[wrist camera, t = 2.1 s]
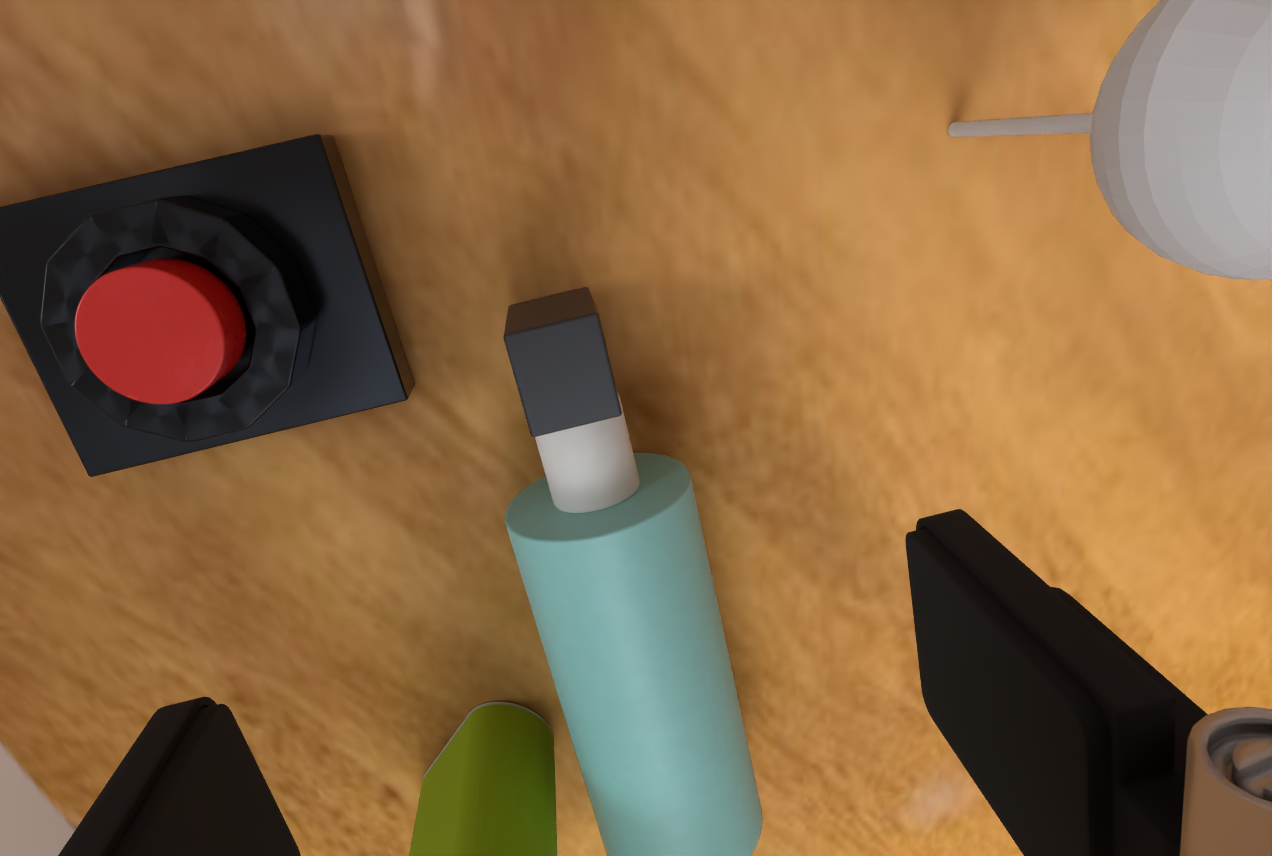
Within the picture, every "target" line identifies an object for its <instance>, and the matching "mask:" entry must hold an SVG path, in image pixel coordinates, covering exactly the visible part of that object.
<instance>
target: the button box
mask: <svg viewBox="0 0 1272 856" xmlns="http://www.w3.org/2000/svg"><path fill="white" fill-rule="evenodd" d="M163 258H170V259H179V260H184V261H188V262H191V263H194V264H197V265H199V266H201V267H203V268H205V269H207V270H208V271H210V272H212V273H213V274H215V275H216V276H217V277H218V278H220V279H221V280H222V281H223V282H224V283H225V284H226V285H227V286H228V287H229V289H230V290H231V291H232V292H233V294H234V295H235V297H236V298H237V300H238V302H239V304H240V306H241V308H242V311H243V314H244V317H245V322H246V333H247V335H246V343H245V347H244V351H243V353H242V355H241V358H240V359H239V361H238V362H237V364H236V365H235V366H234V368H233V369H232V370H231V371H230V372H229V373H227V374H226V375H225V376H224V377H222V378H221V379H220V380H218V381H217V382H216V383H214V384H213V385H211V386H210V387H209V388H207V389H206V390H205V391H203V392H202V393H200V394H199V395H197V396H195V397H193V398H191V399H189V400H186V401H182V402H179V403H173V404H150V403H145V402H140V401H137V400H134V399H131V398H128V397H126V396H124V395H122V394H120V393H118V392H116V391H114V390H113V389H111V388H110V387H109V386H107V385H106V384H105V383H103V382H102V381H101V380H100V379H99V378H98V377H97V376H96V375H95V374H94V373H93V372H92V370H91V369H90V368H89V366H88V365H87V363H86V362H85V360H84V358H83V356H82V355H81V352H80V350H79V347H78V344H77V340H76V336H75V315H76V310H77V307H78V304H79V302H80V300H81V298H82V296H83V294H84V293H85V291H86V290H87V289H88V288H89V286H90V285H91V284H93V283H94V282H95V281H96V280H97V279H99V278H100V277H102V276H103V275H105V274H107V273H109V272H112V271H115V270H118V269H121V268H125V267H128V266H131V265H135V264H138V263H142V262H145V261H149V260H154V259H163ZM0 298H1V300H2V302H3V304H4V306H5V308H6V310H7V312H8V314H9V316H10V318H11V320H12V322H13V324H14V326H15V328H16V330H17V332H18V334H19V336H20V338H21V340H22V342H23V344H24V346H25V348H26V350H27V352H28V354H29V356H30V358H31V360H32V362H33V364H34V366H35V368H36V370H37V372H38V374H39V376H40V378H41V380H42V382H43V384H44V386H45V389H46V391H47V393H48V395H49V397H50V399H51V401H52V403H53V405H54V407H55V409H56V411H57V413H58V415H59V417H60V419H61V421H62V423H63V425H64V427H65V429H66V431H67V433H68V435H69V437H70V439H71V441H72V443H73V445H74V447H75V449H76V451H77V453H78V455H79V457H80V459H81V461H82V463H83V465H84V467H85V469H86V471H87V473H88V475H89V476H90V477H93V476H97V475H101V474H106V473H110V472H114V471H118V470H122V469H126V468H130V467H134V466H138V465H143V464H147V463H151V462H155V461H159V460H163V459H167V458H171V457H175V456H179V455H184V454H188V453H192V452H196V451H200V450H204V449H208V448H212V447H216V446H221V445H225V444H229V443H233V442H237V441H241V440H245V439H249V438H253V437H257V436H262V435H266V434H270V433H274V432H278V431H282V430H286V429H290V428H294V427H299V426H303V425H307V424H311V423H315V422H319V421H323V420H327V419H331V418H335V417H340V416H344V415H348V414H352V413H356V412H360V411H364V410H368V409H372V408H377V407H381V406H385V405H389V404H393V403H397V402H401V401H405V400H407V399H408V398H409V396H410V394H411V392H412V390H413V388H414V386H415V383H414V380H413V377H412V374H411V371H410V368H409V365H408V362H407V359H406V356H405V353H404V350H403V347H402V343H401V340H400V337H399V334H398V331H397V328H396V325H395V322H394V319H393V316H392V313H391V310H390V307H389V304H388V301H387V298H386V295H385V292H384V289H383V286H382V283H381V280H380V277H379V273H378V270H377V267H376V264H375V261H374V258H373V255H372V252H371V249H370V246H369V243H368V240H367V237H366V234H365V231H364V228H363V225H362V222H361V219H360V216H359V213H358V210H357V207H356V203H355V200H354V197H353V194H352V191H351V188H350V185H349V182H348V179H347V176H346V173H345V170H344V167H343V164H342V161H341V158H340V155H339V152H338V149H337V146H336V143H335V140H334V137H333V136H332V135H324V134H315V135H310V136H306V137H302V138H297V139H293V140H289V141H284V142H280V143H276V144H271V145H267V146H263V147H258V148H254V149H250V150H245V151H241V152H237V153H232V154H228V155H224V156H219V157H215V158H211V159H206V160H202V161H198V162H193V163H189V164H185V165H180V166H176V167H172V168H167V169H163V170H159V171H154V172H150V173H146V174H141V175H137V176H132V177H128V178H124V179H119V180H115V181H111V182H106V183H102V184H98V185H93V186H89V187H85V188H80V189H76V190H72V191H67V192H63V193H59V194H54V195H50V196H46V197H41V198H37V199H33V200H28V201H24V202H20V203H15V204H11V205H7V206H2V207H0Z"/></svg>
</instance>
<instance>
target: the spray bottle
mask: <svg viewBox="0 0 1272 856" xmlns="http://www.w3.org/2000/svg"><path fill="white" fill-rule="evenodd" d="M504 341H505V345H506V348H507V352H508V355H509V359H510V362H511V366H512V370H513V373H514V377H515V380H516V384H517V387H518V391H519V394H520V398H521V401H522V405H523V408H524V412H525V416H526V419H527V423H528V426H529V430H530V433H531V436H532V437H535V439H536V443H537V446H538V450H539V453H540V457H541V460H542V464H543V468H544V471H545V475H546V476H544V477H542V478H540V479H539V480H537V481H535V482H534V483H532V484H531V485H529V486H528V487H526V488H525V489H524V490H522V491H521V492H520V493H519V494H518V495H517V496H516V497H515V498H514V499H513V500H512V502H511V503H510V504H509V506H508V508H507V510H506V514H505V524H506V528H507V531H508V534H509V537H510V541H511V544H512V547H513V550H514V554H515V557H516V560H517V563H518V567H519V570H520V573H521V576H522V580H523V583H524V586H525V589H526V593H527V596H528V599H529V603H530V606H531V609H532V612H533V616H534V619H535V622H536V625H537V629H538V632H539V635H540V638H541V642H542V645H543V648H544V651H545V655H546V658H547V661H548V664H549V668H550V671H551V674H552V677H553V681H554V684H555V687H556V690H557V694H558V697H559V700H560V703H561V707H562V710H563V713H564V716H565V720H566V723H567V726H568V729H569V733H570V736H571V739H572V743H573V746H574V749H575V752H576V756H577V759H578V762H579V765H580V769H581V772H582V775H583V778H584V782H585V785H586V788H587V791H588V795H589V798H590V801H591V804H592V808H593V811H594V814H595V817H596V821H597V824H598V827H599V830H600V834H601V837H602V840H603V843H604V847H605V850H606V853H607V856H751V854H752V852H753V851H754V849H755V847H756V845H757V842H758V840H759V837H760V834H761V829H762V820H763V818H762V808H761V804H760V799H759V794H758V790H757V785H756V780H755V775H754V771H753V766H752V761H751V757H750V752H749V747H748V743H747V738H746V733H745V729H744V724H743V719H742V714H741V710H740V705H739V700H738V696H737V691H736V686H735V682H734V677H733V672H732V667H731V663H730V658H729V653H728V649H727V644H726V639H725V635H724V630H723V625H722V620H721V616H720V611H719V606H718V602H717V597H716V592H715V588H714V583H713V578H712V574H711V569H710V564H709V559H708V555H707V550H706V545H705V541H704V536H703V531H702V527H701V522H700V517H699V512H698V508H697V503H696V498H695V494H694V489H693V484H692V480H691V475H690V472H689V470H688V469H687V467H686V466H685V465H684V464H683V463H682V462H680V461H678V460H677V459H674V458H672V457H669V456H665V455H661V454H654V453H633V450H632V446H631V442H630V438H629V433H628V429H627V425H626V421H625V417H624V412H623V408H622V404H621V400H620V396H619V393H618V392H617V389H616V385H615V381H614V377H613V373H612V368H611V364H610V360H609V356H608V352H607V347H606V343H605V339H604V335H603V331H602V326H601V322H600V318H599V314H598V312H597V309H596V306H595V304H594V301H593V298H592V296H591V293H590V290H589V288H588V287H584V288H579V289H575V290H571V291H567V292H563V293H559V294H554V295H550V296H546V297H542V298H538V299H534V300H529V301H525V302H521V303H517V304H513V305H510V306H509V309H508V314H507V320H506V326H505V332H504Z"/></svg>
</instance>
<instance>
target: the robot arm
mask: <svg viewBox="0 0 1272 856" xmlns="http://www.w3.org/2000/svg"><path fill="white" fill-rule="evenodd" d="M906 551H907V560H908V569H909V578H910V587H911V596H912V606H913V615H914V624H915V633H916V642H917V651H918V660H919V669H920V678H921V688H922V694H923V698H924V701H925V704H926V707H927V709H928V712H929V714H930V716H931V717H932V719H933V721H934V722H935V724H936V725H937V727H938V728H939V730H940V731H941V733H942V734H943V736H944V737H945V739H946V740H947V742H948V743H949V745H950V746H951V748H952V749H953V751H954V752H955V754H956V755H957V757H958V758H959V759H960V761H961V762H962V764H963V765H964V767H965V768H966V770H967V771H968V773H969V774H970V776H971V777H972V779H973V780H974V782H975V783H976V785H977V786H978V788H979V789H980V791H981V792H982V794H983V795H984V797H985V798H986V800H987V801H988V803H989V804H990V806H991V807H992V809H993V810H994V812H995V813H996V815H997V816H998V818H999V819H1000V821H1001V822H1002V824H1003V825H1004V827H1005V828H1006V829H1007V831H1008V832H1009V834H1010V835H1011V837H1012V838H1013V840H1014V841H1015V843H1016V844H1017V846H1018V847H1019V849H1020V850H1021V852H1022V853H1023V855H1024V856H1272V709H1266V708H1256V707H1242V708H1229V709H1223V710H1220V711H1217V712H1214V713H1211V714H1207V713H1205V712H1204V711H1203V710H1202V709H1201V708H1200V707H1198V706H1197V705H1196V704H1195V703H1194V702H1193V701H1192V700H1190V699H1189V698H1188V697H1187V696H1186V695H1185V694H1183V693H1182V692H1181V691H1180V690H1179V689H1178V688H1177V687H1175V686H1174V685H1173V684H1172V683H1171V682H1170V681H1168V680H1167V679H1166V678H1165V677H1164V676H1163V675H1162V674H1160V673H1159V672H1158V671H1157V670H1156V669H1155V668H1153V667H1152V666H1151V665H1150V664H1149V663H1148V662H1147V661H1145V660H1144V659H1143V658H1142V657H1141V656H1140V655H1138V654H1137V653H1136V652H1135V651H1134V650H1133V649H1132V648H1130V647H1129V646H1128V645H1127V644H1126V643H1125V642H1123V641H1122V640H1121V639H1120V638H1119V637H1118V636H1117V635H1115V634H1114V633H1113V632H1112V631H1111V630H1110V629H1108V628H1107V627H1106V626H1105V625H1104V624H1103V623H1102V622H1100V621H1099V620H1098V619H1097V618H1096V617H1095V616H1093V615H1092V614H1091V613H1090V612H1089V611H1088V610H1087V609H1085V608H1084V607H1083V606H1082V605H1081V604H1080V603H1078V602H1077V601H1076V600H1075V599H1074V598H1073V597H1072V596H1070V595H1069V594H1068V593H1066V592H1065V591H1063V590H1062V589H1060V588H1055V587H1050V586H1049V585H1047V584H1046V583H1045V582H1044V581H1043V580H1042V579H1041V578H1039V577H1038V576H1037V575H1036V574H1035V573H1034V572H1033V571H1032V570H1030V569H1029V568H1028V567H1027V566H1026V565H1025V564H1024V563H1022V562H1021V561H1020V560H1019V559H1018V558H1017V557H1016V556H1015V555H1013V554H1012V553H1011V552H1010V551H1009V550H1008V549H1007V548H1006V547H1004V546H1003V545H1002V544H1001V543H1000V542H999V541H998V540H996V539H995V538H994V537H993V536H992V535H991V534H990V533H989V532H987V531H986V530H985V529H984V528H983V527H982V526H981V525H980V524H978V523H977V522H976V521H975V520H974V519H973V518H972V517H970V516H969V515H968V514H967V513H966V512H964V511H963V510H961V509H957V510H953V511H949V512H945V513H941V514H937V515H933V516H929V517H925V518H921V519H919V520H918V521H917V525H916V531H913V532H909V533H907V535H906ZM58 856H301V855H300V852H299V849H298V847H297V844H296V842H295V840H294V838H293V836H292V834H291V832H290V830H289V828H288V826H287V824H286V822H285V820H284V818H283V816H282V814H281V812H280V810H279V808H278V806H277V804H276V802H275V800H274V798H273V795H272V793H271V791H270V789H269V787H268V785H267V783H266V781H265V779H264V777H263V775H262V773H261V771H260V769H259V767H258V765H257V763H256V761H255V759H254V757H253V755H252V753H251V751H250V749H249V746H248V744H247V742H246V740H245V738H244V736H243V734H242V732H241V730H240V728H239V726H238V724H237V722H236V720H235V718H234V716H233V714H232V712H231V710H230V709H229V707H227V706H226V705H224V704H218V705H217V704H216V703H215V701H213V700H212V699H211V698H209V697H201V698H197V699H193V700H189V701H185V702H181V703H177V704H173V705H169V706H165V707H162V708H160V709H158V710H157V711H156V712H155V713H154V714H153V716H152V717H151V719H150V720H149V722H148V723H147V725H146V726H145V728H144V729H143V731H142V732H141V734H140V735H139V737H138V738H137V740H136V741H135V743H134V744H133V746H132V747H131V749H130V750H129V752H128V753H127V754H126V756H125V757H124V759H123V760H122V762H121V763H120V765H119V766H118V768H117V769H116V771H115V772H114V774H113V775H112V777H111V778H110V780H109V781H108V783H107V784H106V786H105V787H104V789H103V790H102V792H101V793H100V795H99V796H98V798H97V799H96V801H95V802H94V803H93V805H92V806H91V808H90V809H89V811H88V812H87V814H86V815H85V817H84V818H83V820H82V821H81V823H80V824H79V826H78V827H77V829H76V830H75V832H74V833H73V835H72V837H71V838H70V839H69V841H68V842H67V844H66V845H65V847H64V848H63V850H62V851H61V852H60V854H59V855H58Z"/></svg>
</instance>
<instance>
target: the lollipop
mask: <svg viewBox="0 0 1272 856" xmlns="http://www.w3.org/2000/svg"><path fill="white" fill-rule="evenodd" d="M948 133H949V135H950V136H952V137H973V136H1006V135H1039V134H1072V133H1090V144H1091V161H1092V166H1093V170H1094V174H1095V178H1096V182H1097V184H1098V187H1099V189H1100V191H1101V193H1102V195H1103V197H1104V199H1105V201H1106V203H1107V205H1108V207H1109V209H1110V211H1111V213H1112V214H1113V215H1114V217H1115V218H1116V219H1117V220H1118V222H1119V223H1120V224H1121V225H1122V226H1123V228H1124V229H1125V230H1126V231H1127V232H1128V233H1129V234H1131V235H1132V236H1133V237H1135V238H1136V239H1137V240H1139V241H1140V242H1141V243H1143V244H1144V245H1145V246H1147V247H1148V248H1149V249H1151V250H1152V251H1154V252H1155V253H1156V254H1158V255H1159V256H1161V257H1163V258H1166V259H1168V260H1171V261H1173V262H1175V263H1178V264H1180V265H1183V266H1185V267H1188V268H1191V269H1193V270H1196V271H1199V272H1201V273H1204V274H1208V275H1214V276H1220V277H1225V278H1231V279H1247V280H1271V279H1272V0H1160V1H1159V2H1158V3H1157V4H1156V5H1155V6H1154V8H1153V9H1152V10H1151V11H1150V12H1149V13H1148V14H1147V15H1146V16H1145V17H1144V18H1143V19H1142V20H1141V21H1140V22H1139V23H1138V25H1137V26H1136V27H1135V29H1134V30H1133V32H1132V33H1131V34H1130V36H1129V37H1128V39H1127V40H1126V42H1125V43H1124V45H1123V46H1122V47H1121V49H1120V50H1119V52H1118V53H1117V55H1116V56H1115V58H1114V59H1113V61H1112V63H1111V65H1110V67H1109V69H1108V71H1107V73H1106V76H1105V78H1104V80H1103V82H1102V84H1101V87H1100V90H1099V93H1098V97H1097V100H1096V103H1095V107H1094V110H1093V113H1084V114H1069V115H1054V116H1039V117H1024V118H1008V119H993V120H978V121H963V122H953V123H952V124H951V125H950V126H949V128H948Z"/></svg>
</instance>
